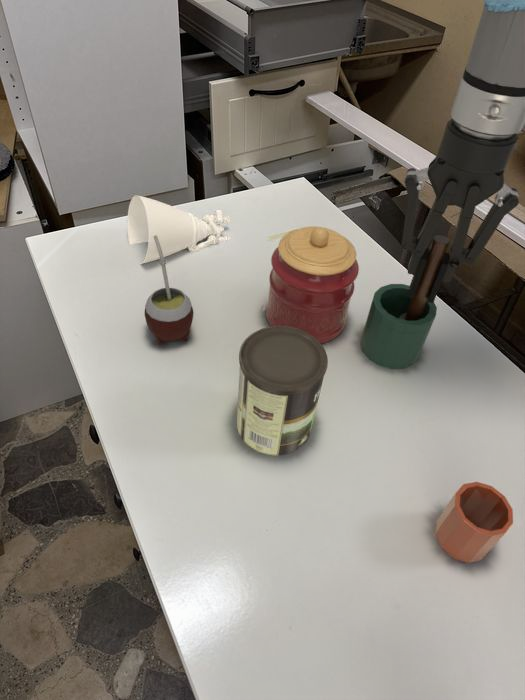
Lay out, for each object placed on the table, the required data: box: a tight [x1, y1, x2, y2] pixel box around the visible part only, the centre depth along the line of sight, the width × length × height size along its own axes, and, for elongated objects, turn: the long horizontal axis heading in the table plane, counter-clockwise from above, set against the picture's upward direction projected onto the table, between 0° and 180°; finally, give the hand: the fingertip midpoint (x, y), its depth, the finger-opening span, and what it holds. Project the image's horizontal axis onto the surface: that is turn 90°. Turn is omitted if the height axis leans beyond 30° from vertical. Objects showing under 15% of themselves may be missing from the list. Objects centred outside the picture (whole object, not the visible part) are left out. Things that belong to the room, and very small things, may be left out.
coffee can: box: [236, 326, 329, 456], centre depth 66 cm, size 10×10×14 cm
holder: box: [434, 481, 514, 564], centre depth 58 cm, size 6×6×8 cm
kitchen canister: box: [265, 225, 360, 344], centre depth 79 cm, size 13×13×18 cm
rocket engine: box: [126, 195, 232, 265], centre depth 95 cm, size 12×12×18 cm
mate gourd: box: [144, 236, 194, 346], centre depth 76 cm, size 8×8×15 cm
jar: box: [359, 283, 438, 370], centre depth 79 cm, size 9×9×10 cm
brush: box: [399, 235, 450, 321], centre depth 74 cm, size 4×4×20 cm
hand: (421, 294), depth 73 cm, fingers closed on brush, 2 cm apart
